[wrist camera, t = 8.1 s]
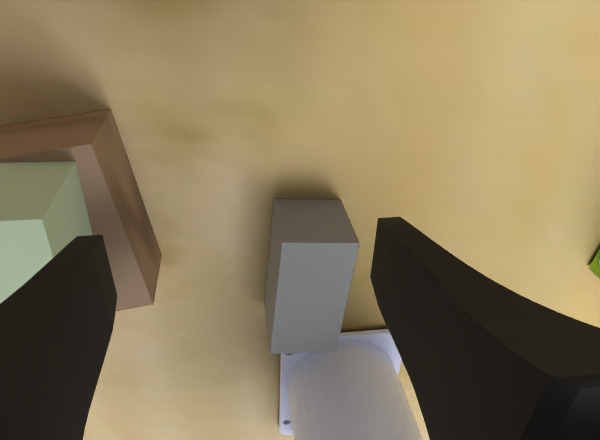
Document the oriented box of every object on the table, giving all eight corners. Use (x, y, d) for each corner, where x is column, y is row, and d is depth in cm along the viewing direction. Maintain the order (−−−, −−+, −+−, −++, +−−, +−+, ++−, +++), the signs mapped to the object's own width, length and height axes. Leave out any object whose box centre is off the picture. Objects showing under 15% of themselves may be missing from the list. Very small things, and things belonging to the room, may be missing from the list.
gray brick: (322, 300, 28) (336, 351, 25) (263, 301, 28) (270, 354, 24) (340, 198, 25) (359, 243, 21) (273, 197, 24) (282, 242, 21)
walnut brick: (162, 252, 25) (153, 304, 22) (46, 272, 25) (19, 328, 21) (111, 106, 21) (91, 144, 17) (-30, 129, 20) (-79, 171, 17)
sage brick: (108, 303, 21) (87, 375, 18) (24, 308, 21) (-13, 383, 17) (75, 161, 18) (42, 219, 14) (-28, 163, 17) (-88, 224, 14)
